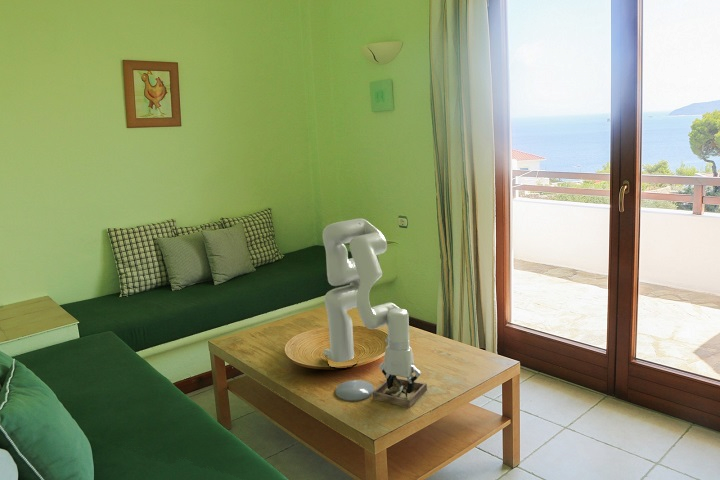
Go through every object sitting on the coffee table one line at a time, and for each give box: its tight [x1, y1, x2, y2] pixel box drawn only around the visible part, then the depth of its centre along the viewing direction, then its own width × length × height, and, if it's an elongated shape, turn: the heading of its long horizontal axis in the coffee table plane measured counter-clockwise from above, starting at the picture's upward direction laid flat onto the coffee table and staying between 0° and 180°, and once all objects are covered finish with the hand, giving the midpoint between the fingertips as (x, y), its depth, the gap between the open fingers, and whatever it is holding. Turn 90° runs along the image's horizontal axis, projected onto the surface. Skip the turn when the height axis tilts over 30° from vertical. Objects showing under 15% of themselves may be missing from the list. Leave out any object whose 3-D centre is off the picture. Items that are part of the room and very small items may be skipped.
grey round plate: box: [335, 379, 375, 402], centre depth 214 cm, size 14×14×1 cm
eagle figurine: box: [384, 375, 409, 398], centre depth 210 cm, size 8×7×9 cm
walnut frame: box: [372, 376, 428, 409], centre depth 210 cm, size 15×14×2 cm
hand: (400, 389), depth 210 cm, fingers closed on eagle figurine, 7 cm apart
